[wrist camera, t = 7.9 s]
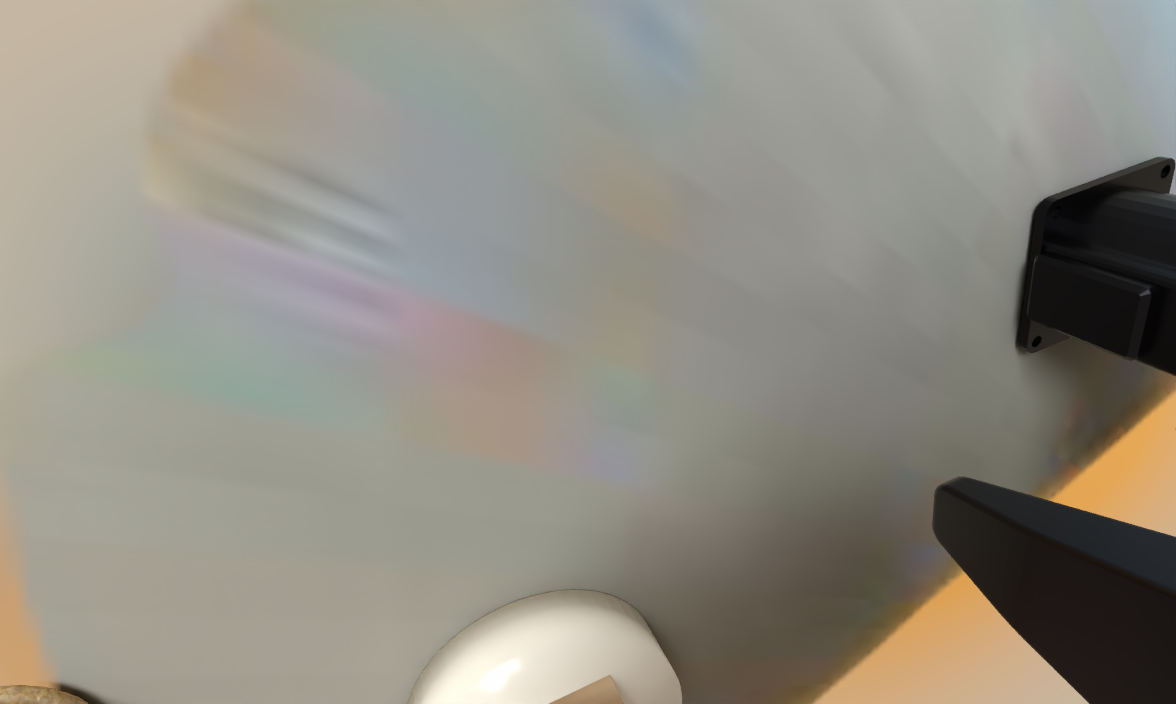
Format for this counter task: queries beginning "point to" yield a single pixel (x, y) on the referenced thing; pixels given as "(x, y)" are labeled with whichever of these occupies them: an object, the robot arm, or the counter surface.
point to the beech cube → (593, 694)
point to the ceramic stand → (550, 654)
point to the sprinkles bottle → (36, 696)
